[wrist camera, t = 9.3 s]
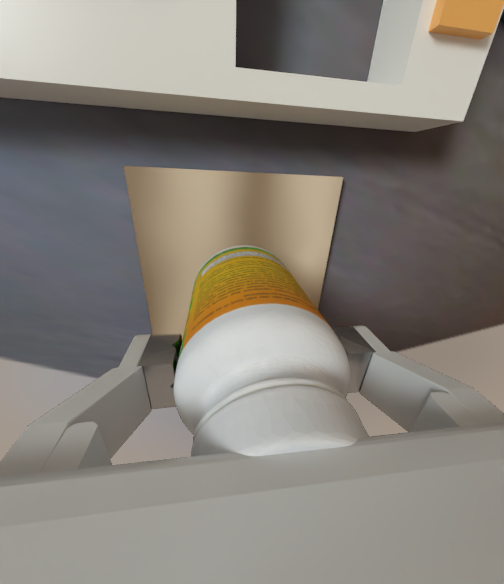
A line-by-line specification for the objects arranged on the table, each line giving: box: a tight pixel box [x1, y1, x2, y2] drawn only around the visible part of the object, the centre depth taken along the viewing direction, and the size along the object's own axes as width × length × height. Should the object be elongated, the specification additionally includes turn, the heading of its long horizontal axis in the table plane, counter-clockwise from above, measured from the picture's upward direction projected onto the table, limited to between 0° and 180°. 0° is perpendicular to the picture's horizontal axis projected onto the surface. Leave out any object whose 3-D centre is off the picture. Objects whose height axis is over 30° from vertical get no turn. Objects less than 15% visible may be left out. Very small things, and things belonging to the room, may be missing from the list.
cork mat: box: [124, 166, 343, 340], centre depth 16 cm, size 12×12×1 cm
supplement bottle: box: [174, 245, 369, 456], centre depth 9 cm, size 5×5×10 cm
